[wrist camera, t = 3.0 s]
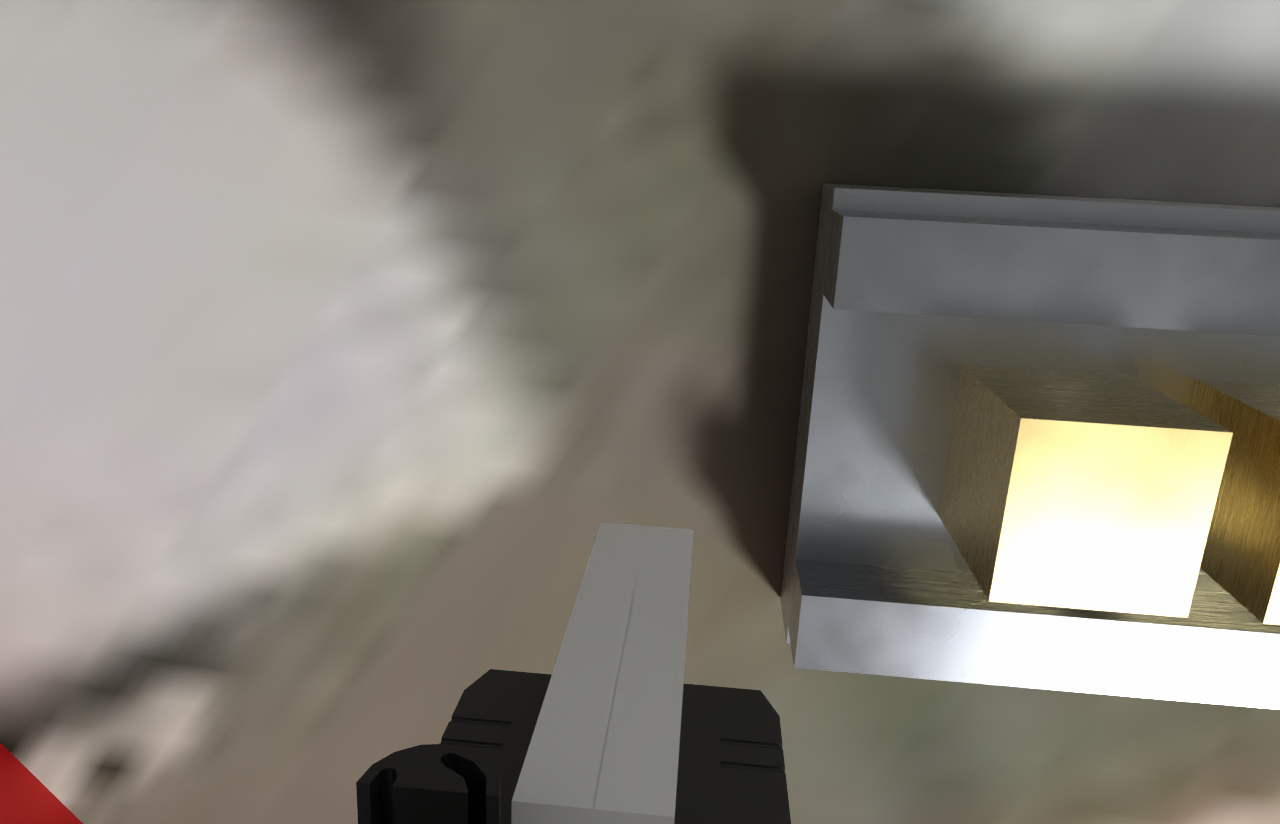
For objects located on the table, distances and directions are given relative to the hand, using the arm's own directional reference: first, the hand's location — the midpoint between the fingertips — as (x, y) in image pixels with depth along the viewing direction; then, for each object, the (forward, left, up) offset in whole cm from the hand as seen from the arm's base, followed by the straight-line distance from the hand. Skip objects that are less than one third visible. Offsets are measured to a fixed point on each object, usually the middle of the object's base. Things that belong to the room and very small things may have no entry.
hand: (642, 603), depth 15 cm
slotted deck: (0, +11, -11) cm, 16 cm away
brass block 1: (0, +9, -9) cm, 13 cm away
